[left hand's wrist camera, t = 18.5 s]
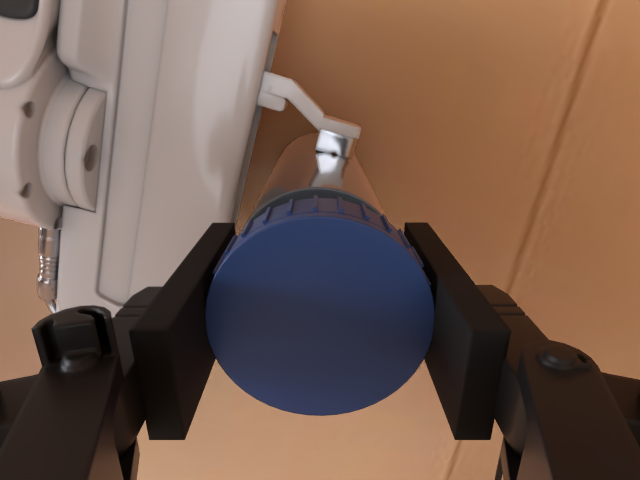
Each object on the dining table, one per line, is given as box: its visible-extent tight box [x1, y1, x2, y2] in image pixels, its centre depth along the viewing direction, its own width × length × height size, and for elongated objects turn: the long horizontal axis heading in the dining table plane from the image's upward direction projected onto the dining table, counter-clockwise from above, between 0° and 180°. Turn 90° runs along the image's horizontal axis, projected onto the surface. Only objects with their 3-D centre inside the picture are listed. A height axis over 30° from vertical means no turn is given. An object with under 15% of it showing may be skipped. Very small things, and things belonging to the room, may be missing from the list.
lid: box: [205, 195, 435, 416], centre depth 11 cm, size 6×6×2 cm
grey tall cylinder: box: [243, 133, 385, 229], centre depth 19 cm, size 5×5×15 cm
